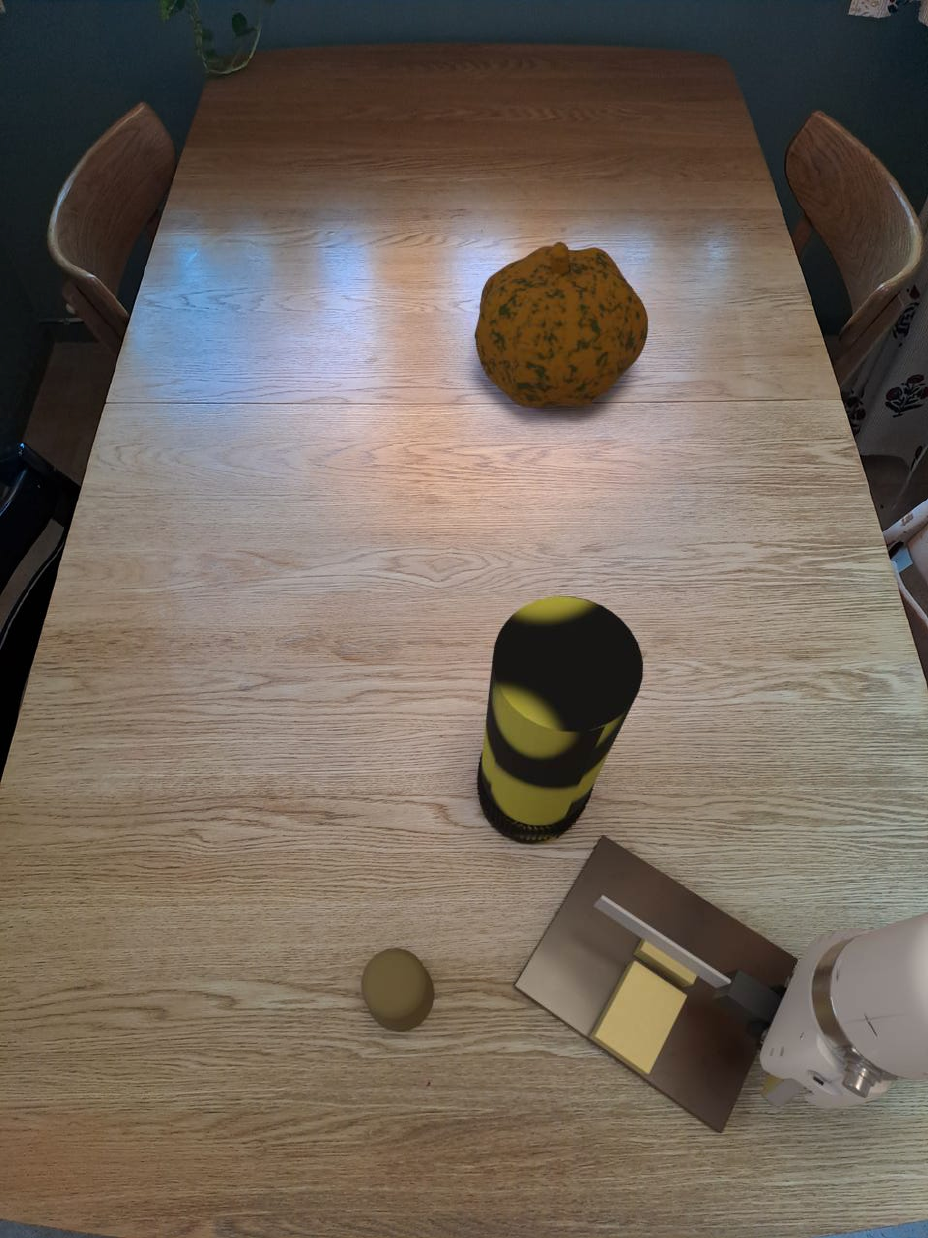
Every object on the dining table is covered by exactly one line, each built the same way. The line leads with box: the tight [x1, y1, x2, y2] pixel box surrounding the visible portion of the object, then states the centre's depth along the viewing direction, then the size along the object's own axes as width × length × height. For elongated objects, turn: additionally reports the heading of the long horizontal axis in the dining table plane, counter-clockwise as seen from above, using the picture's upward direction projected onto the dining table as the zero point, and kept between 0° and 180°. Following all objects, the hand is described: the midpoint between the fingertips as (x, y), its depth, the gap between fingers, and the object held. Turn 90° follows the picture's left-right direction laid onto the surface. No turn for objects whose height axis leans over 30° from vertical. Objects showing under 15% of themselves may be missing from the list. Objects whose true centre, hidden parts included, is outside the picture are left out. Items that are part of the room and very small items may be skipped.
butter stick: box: [590, 961, 687, 1074], centre depth 71 cm, size 5×7×3 cm
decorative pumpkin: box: [473, 241, 649, 408], centre depth 102 cm, size 20×21×20 cm
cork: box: [360, 947, 435, 1033], centre depth 69 cm, size 6×6×11 cm
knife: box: [594, 895, 783, 1024], centre depth 64 cm, size 20×2×4 cm, turn 56°
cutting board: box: [513, 834, 799, 1134], centre depth 75 cm, size 20×16×2 cm
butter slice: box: [634, 939, 697, 988], centre depth 73 cm, size 5×2×3 cm, turn 56°
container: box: [476, 595, 644, 845], centre depth 70 cm, size 11×11×30 cm
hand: (772, 1022), depth 64 cm, fingers closed on knife, 2 cm apart
